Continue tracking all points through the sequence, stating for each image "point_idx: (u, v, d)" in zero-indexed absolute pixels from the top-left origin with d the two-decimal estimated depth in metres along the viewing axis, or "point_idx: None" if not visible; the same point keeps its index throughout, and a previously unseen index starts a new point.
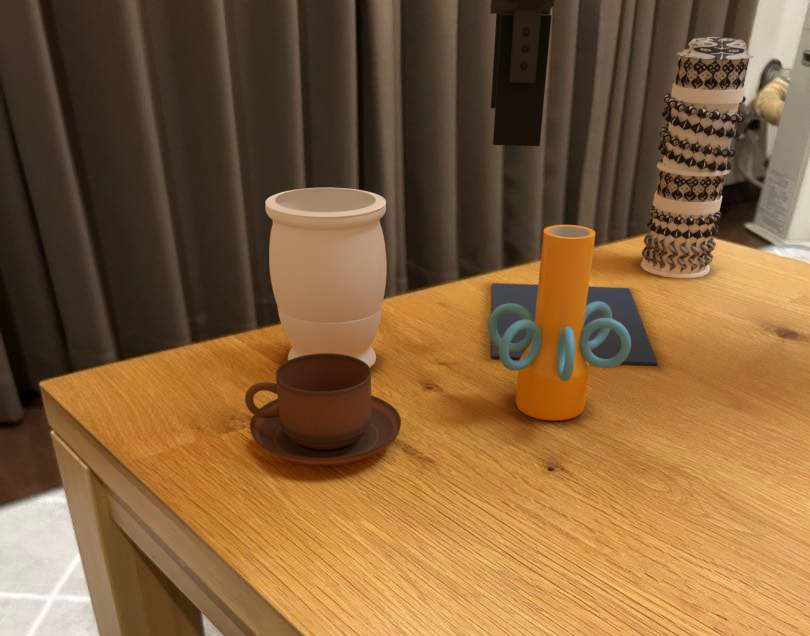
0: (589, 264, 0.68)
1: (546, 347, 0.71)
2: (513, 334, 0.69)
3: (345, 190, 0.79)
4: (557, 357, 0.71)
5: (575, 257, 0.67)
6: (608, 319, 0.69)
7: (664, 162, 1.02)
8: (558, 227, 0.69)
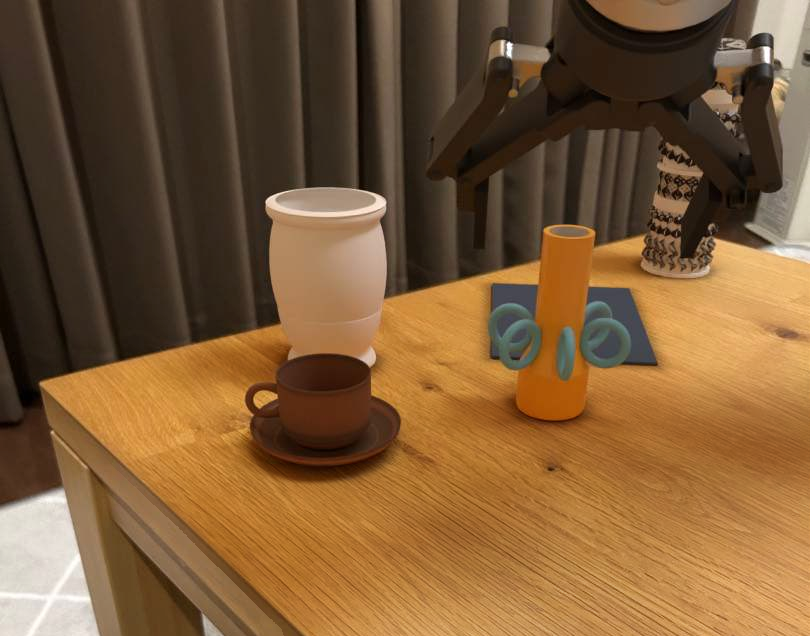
0: (589, 264, 0.68)
1: (546, 347, 0.71)
2: (513, 334, 0.69)
3: (345, 190, 0.79)
4: (557, 357, 0.71)
5: (575, 257, 0.67)
6: (608, 319, 0.69)
7: (664, 162, 1.02)
8: (558, 227, 0.69)
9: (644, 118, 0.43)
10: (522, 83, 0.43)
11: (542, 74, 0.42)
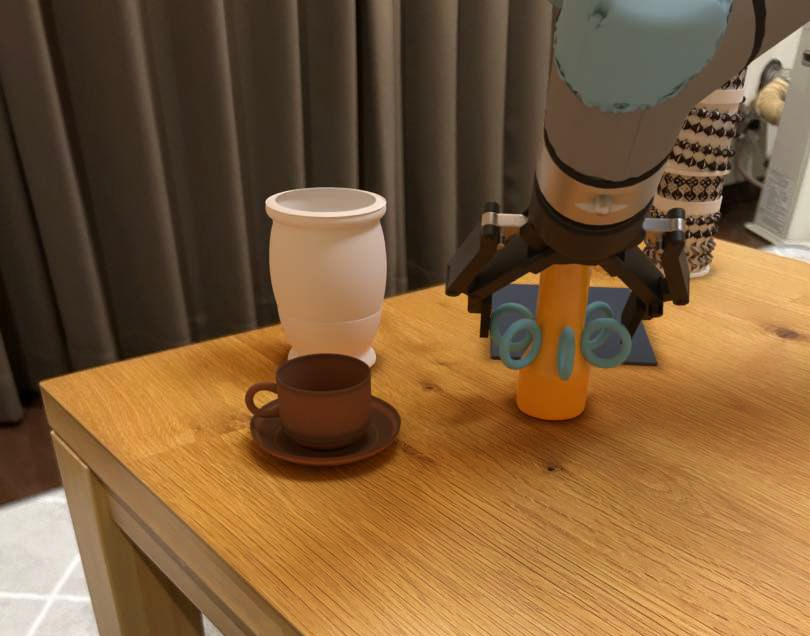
0: None
1: (546, 347, 0.71)
2: (513, 333, 0.69)
3: (345, 190, 0.79)
4: (557, 357, 0.71)
5: None
6: (609, 319, 0.69)
7: None
8: None
9: (594, 261, 0.59)
10: (507, 237, 0.60)
11: (520, 233, 0.59)
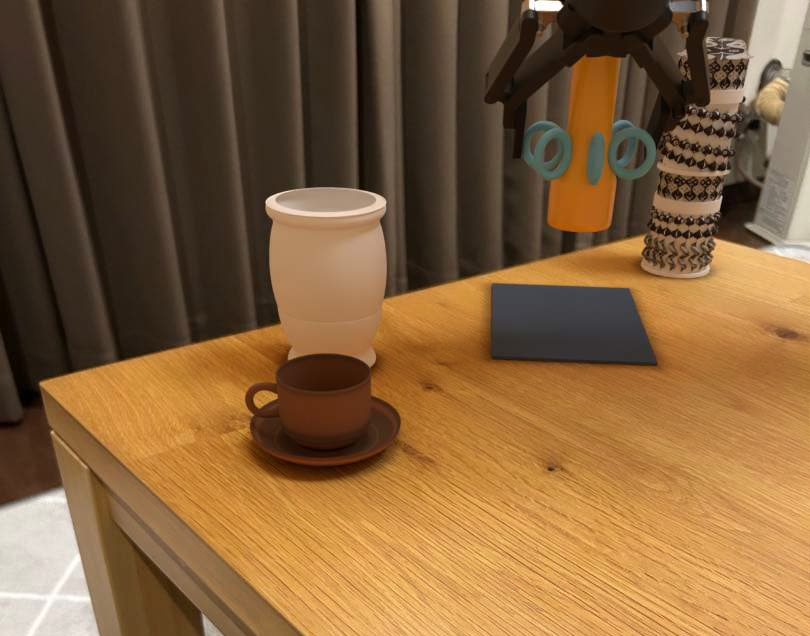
0: (617, 72, 0.73)
1: (576, 158, 0.76)
2: (547, 140, 0.74)
3: (345, 190, 0.79)
4: (587, 166, 0.76)
5: (604, 63, 0.72)
6: (634, 128, 0.75)
7: (664, 162, 1.02)
8: None
9: (625, 46, 0.65)
10: (545, 26, 0.65)
11: (557, 19, 0.64)
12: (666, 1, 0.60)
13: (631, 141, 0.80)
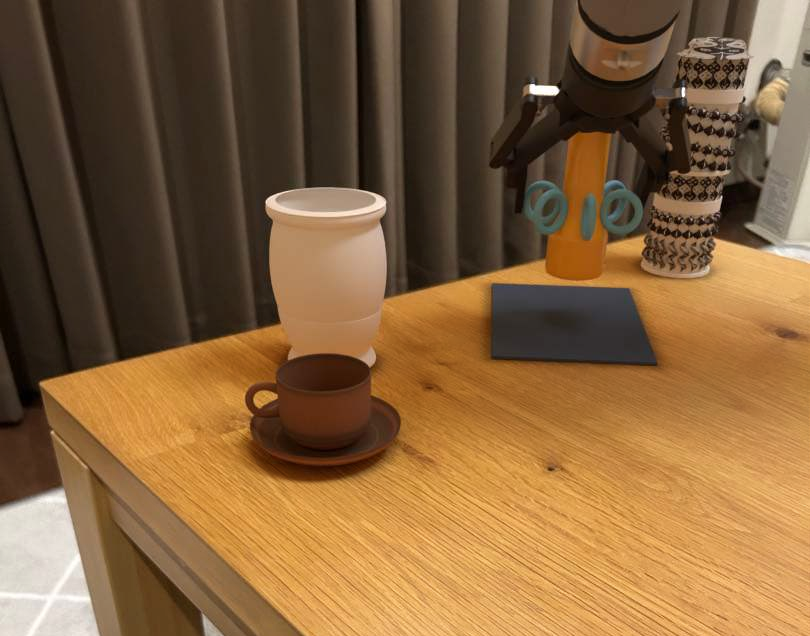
0: (608, 141, 0.82)
1: (572, 215, 0.85)
2: (545, 201, 0.83)
3: (345, 190, 0.79)
4: (581, 223, 0.85)
5: (597, 134, 0.81)
6: (624, 190, 0.84)
7: None
8: None
9: (613, 126, 0.74)
10: (543, 107, 0.74)
11: (554, 102, 0.73)
12: (649, 92, 0.69)
13: (621, 199, 0.89)
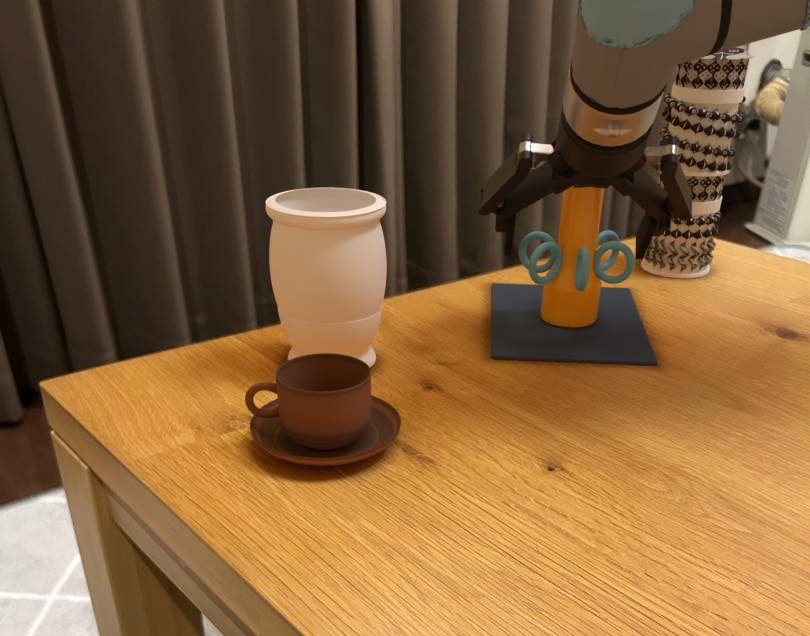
0: (601, 196, 0.85)
1: (566, 265, 0.88)
2: (540, 253, 0.86)
3: (345, 190, 0.79)
4: (575, 273, 0.88)
5: (590, 189, 0.83)
6: (616, 242, 0.86)
7: None
8: None
9: (607, 183, 0.76)
10: (537, 163, 0.77)
11: (549, 159, 0.75)
12: (639, 154, 0.72)
13: None
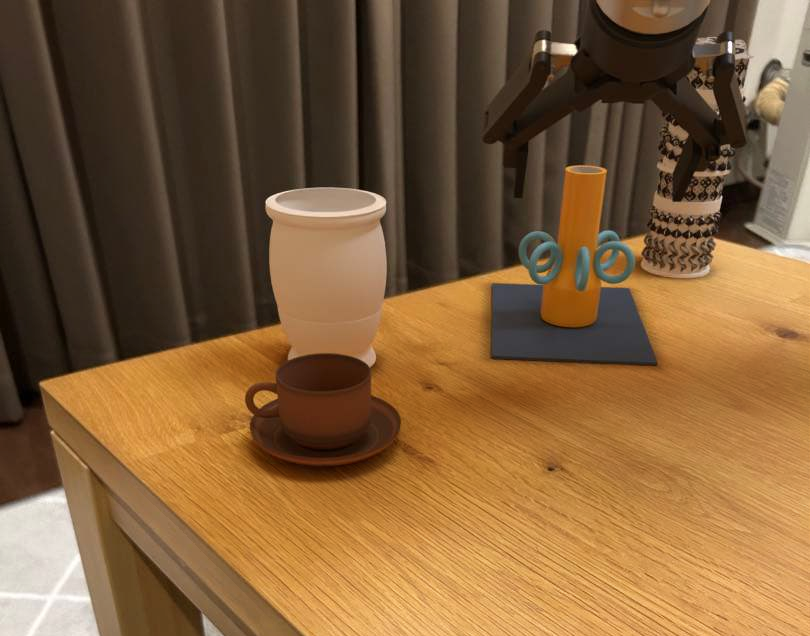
0: (601, 196, 0.85)
1: (566, 265, 0.88)
2: (540, 253, 0.86)
3: (345, 190, 0.79)
4: (575, 273, 0.88)
5: (590, 189, 0.84)
6: (616, 242, 0.86)
7: (664, 162, 1.02)
8: (577, 167, 0.86)
9: (644, 93, 0.61)
10: (557, 70, 0.61)
11: (572, 63, 0.60)
12: (689, 49, 0.56)
13: None
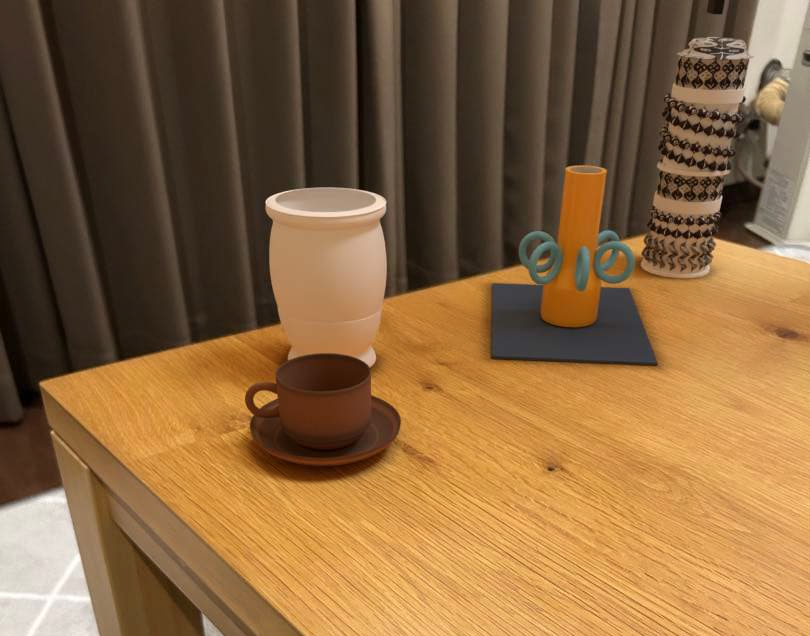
0: (601, 196, 0.85)
1: (566, 265, 0.88)
2: (540, 253, 0.86)
3: (345, 190, 0.79)
4: (575, 273, 0.88)
5: (590, 189, 0.84)
6: (616, 242, 0.86)
7: (664, 162, 1.02)
8: (577, 167, 0.86)
9: None
10: None
11: None
12: None
13: None
